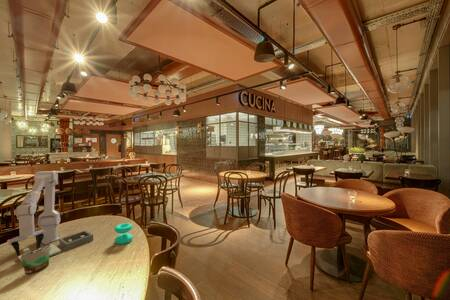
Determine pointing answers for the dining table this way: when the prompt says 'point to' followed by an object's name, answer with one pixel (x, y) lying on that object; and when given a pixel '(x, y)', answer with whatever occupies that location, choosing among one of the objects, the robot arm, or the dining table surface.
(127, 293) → the dining table surface
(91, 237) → the tub
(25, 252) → the lid
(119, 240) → the donuts
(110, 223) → the dining table surface
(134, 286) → the dining table surface
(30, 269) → the food container
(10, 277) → the dining table surface
